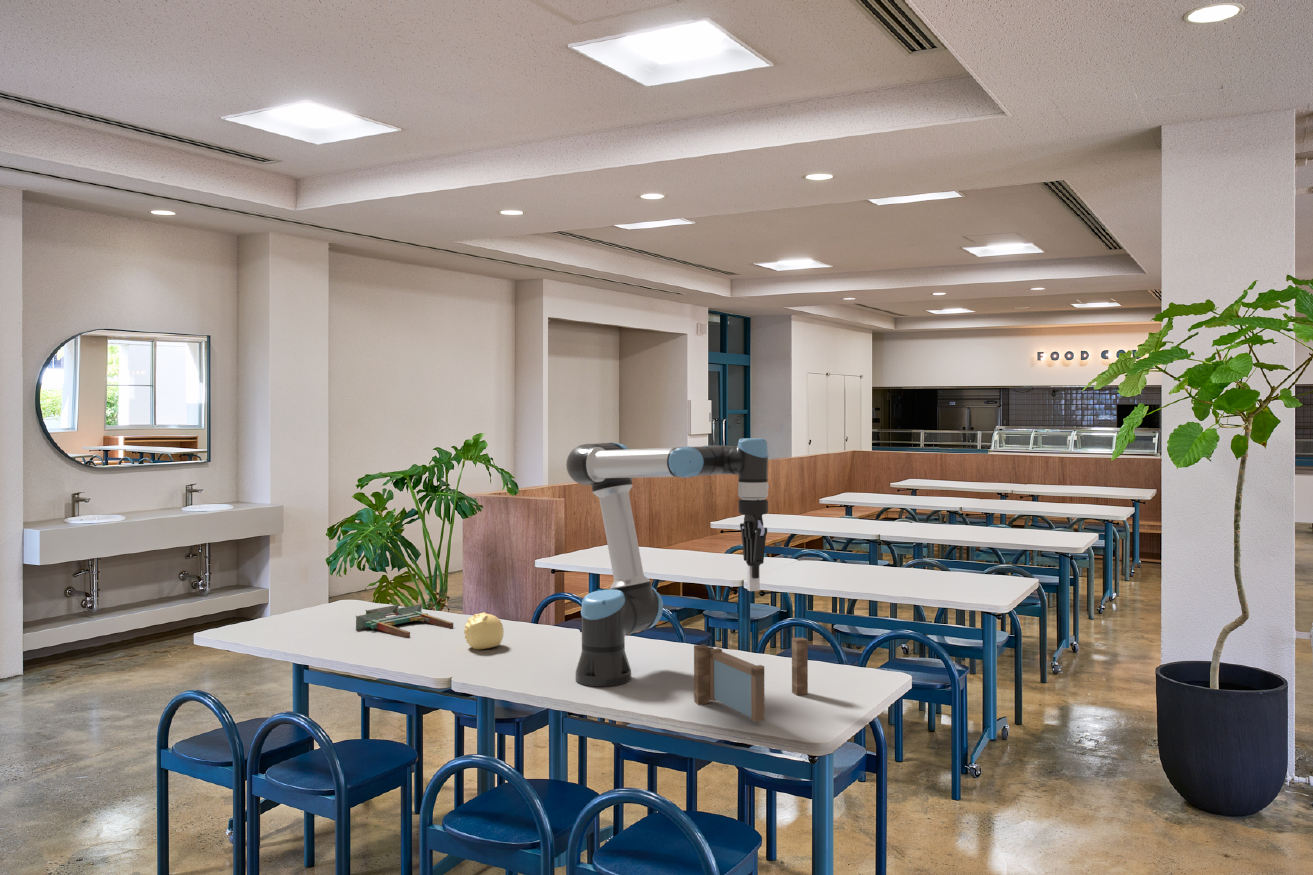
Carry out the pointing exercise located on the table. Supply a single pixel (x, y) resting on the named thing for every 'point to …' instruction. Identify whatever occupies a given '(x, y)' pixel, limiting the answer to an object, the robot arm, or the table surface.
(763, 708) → the gate leaf
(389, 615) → the miniature gate
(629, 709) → the table surface
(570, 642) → the table surface
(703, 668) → the gate posts
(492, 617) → the sculpture
